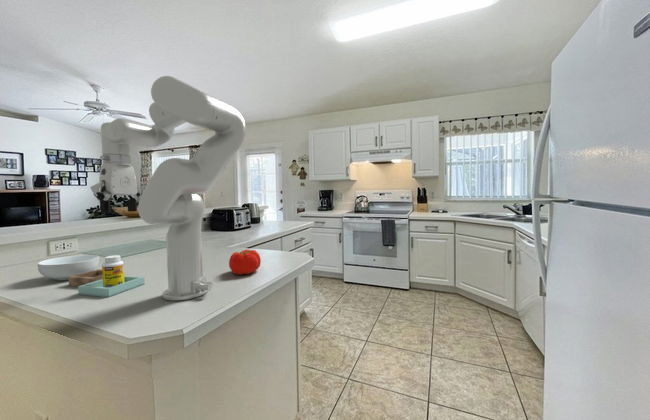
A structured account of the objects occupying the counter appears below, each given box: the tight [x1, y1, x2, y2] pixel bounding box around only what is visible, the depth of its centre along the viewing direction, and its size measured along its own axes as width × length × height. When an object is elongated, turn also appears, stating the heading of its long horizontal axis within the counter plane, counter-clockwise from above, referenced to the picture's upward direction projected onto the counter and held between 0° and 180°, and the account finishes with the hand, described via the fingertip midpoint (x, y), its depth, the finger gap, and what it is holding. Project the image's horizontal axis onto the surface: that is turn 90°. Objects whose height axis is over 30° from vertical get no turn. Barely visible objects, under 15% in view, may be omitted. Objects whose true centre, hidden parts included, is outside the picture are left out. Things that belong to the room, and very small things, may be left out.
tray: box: [77, 275, 145, 298], centre depth 87 cm, size 12×12×2 cm
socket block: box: [68, 268, 103, 287], centre depth 95 cm, size 10×10×3 cm
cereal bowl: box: [37, 254, 100, 281], centre depth 101 cm, size 17×17×7 cm
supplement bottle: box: [101, 254, 125, 288], centre depth 87 cm, size 6×6×10 cm
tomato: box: [228, 249, 262, 276], centre depth 104 cm, size 13×12×8 cm
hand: (119, 212), depth 90 cm, fingers open, 9 cm apart
